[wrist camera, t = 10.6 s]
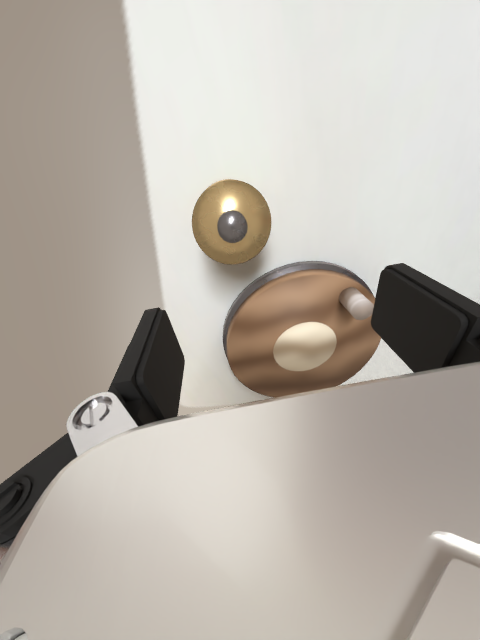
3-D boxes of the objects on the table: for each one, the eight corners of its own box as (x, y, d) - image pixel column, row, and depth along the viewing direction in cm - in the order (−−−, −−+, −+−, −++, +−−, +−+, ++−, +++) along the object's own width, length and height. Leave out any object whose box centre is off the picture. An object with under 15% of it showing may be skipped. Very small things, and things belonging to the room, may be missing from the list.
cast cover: (269, 190, 25) (284, 194, 19) (250, 254, 28) (258, 274, 22) (203, 169, 23) (199, 167, 18) (192, 239, 27) (185, 257, 21)
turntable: (202, 300, 30) (200, 325, 25) (377, 244, 28) (409, 261, 23) (250, 401, 42) (254, 431, 37) (373, 368, 40) (394, 395, 35)
